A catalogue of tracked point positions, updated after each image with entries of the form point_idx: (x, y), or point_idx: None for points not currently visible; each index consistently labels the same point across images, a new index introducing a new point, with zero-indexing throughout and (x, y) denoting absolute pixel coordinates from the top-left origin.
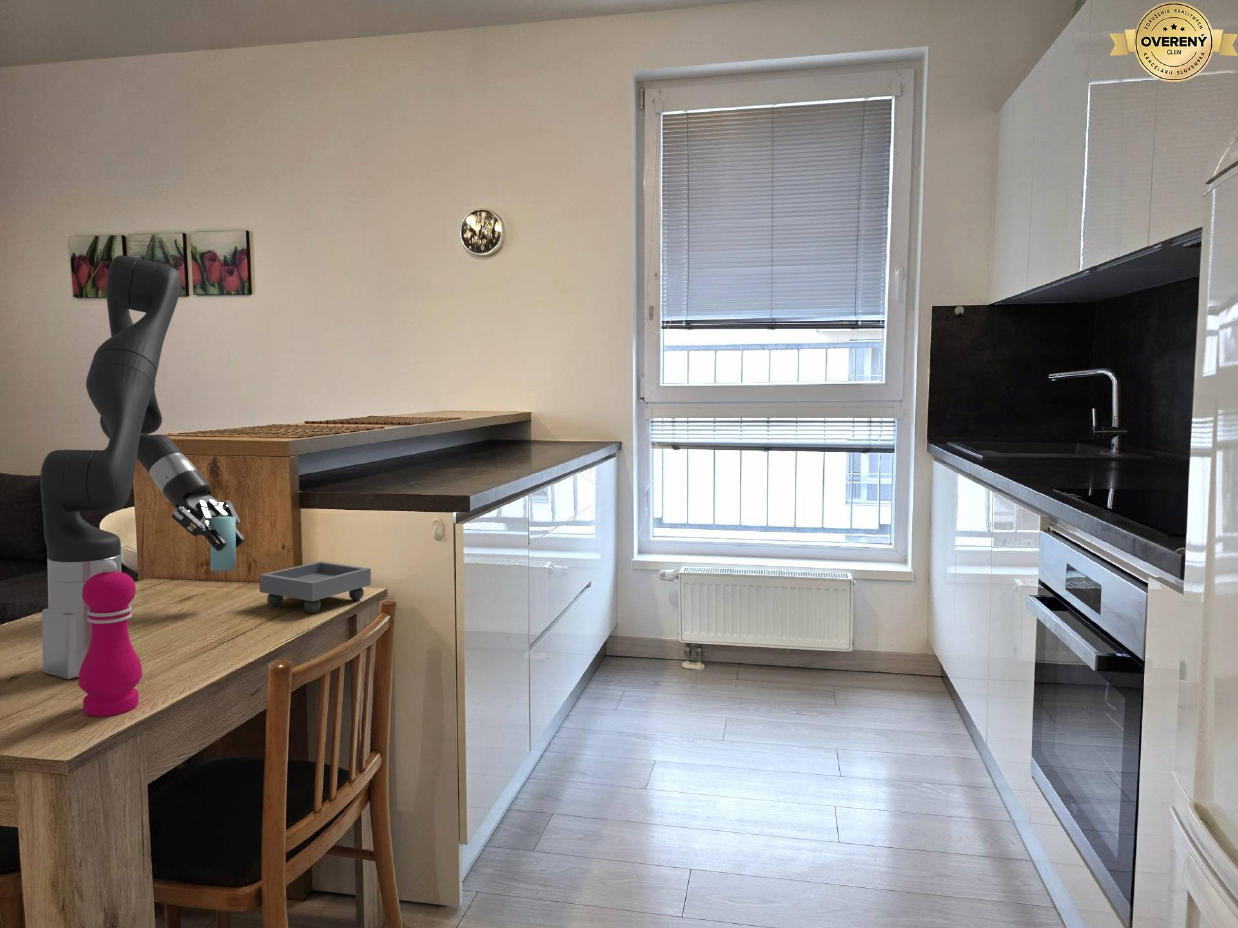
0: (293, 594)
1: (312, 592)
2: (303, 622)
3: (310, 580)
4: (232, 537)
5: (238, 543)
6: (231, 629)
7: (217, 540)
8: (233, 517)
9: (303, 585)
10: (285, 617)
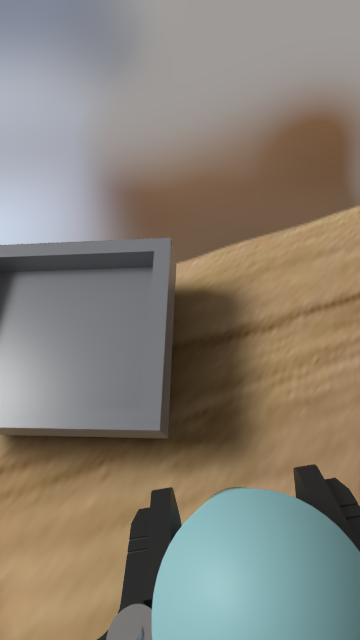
0: (172, 312)
1: (173, 252)
2: (218, 270)
3: (61, 353)
4: (238, 488)
5: (176, 513)
6: (340, 341)
7: (344, 499)
8: (186, 553)
9: (170, 268)
10: (210, 322)
